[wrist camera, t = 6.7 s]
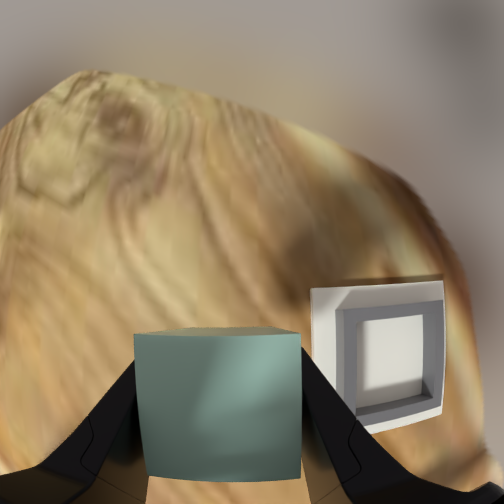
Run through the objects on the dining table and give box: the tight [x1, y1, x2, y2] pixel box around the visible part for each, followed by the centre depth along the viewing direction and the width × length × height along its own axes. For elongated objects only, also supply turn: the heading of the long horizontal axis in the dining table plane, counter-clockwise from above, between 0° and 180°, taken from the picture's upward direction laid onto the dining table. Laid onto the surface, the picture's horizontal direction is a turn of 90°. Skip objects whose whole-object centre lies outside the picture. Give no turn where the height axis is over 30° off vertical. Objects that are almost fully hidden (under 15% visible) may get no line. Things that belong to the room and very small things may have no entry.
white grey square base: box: [310, 281, 446, 434], centre depth 21 cm, size 13×13×3 cm
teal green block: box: [134, 326, 302, 482], centre depth 11 cm, size 4×4×9 cm
